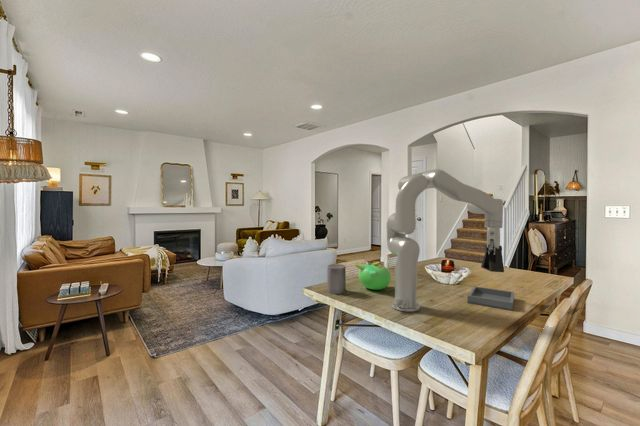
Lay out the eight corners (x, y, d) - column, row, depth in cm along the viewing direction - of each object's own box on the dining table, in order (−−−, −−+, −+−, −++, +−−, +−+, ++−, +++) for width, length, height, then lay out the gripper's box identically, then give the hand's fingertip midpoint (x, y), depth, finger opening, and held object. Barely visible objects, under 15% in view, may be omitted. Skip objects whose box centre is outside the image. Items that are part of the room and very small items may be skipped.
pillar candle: (336, 287, 167) (336, 260, 167) (349, 291, 160) (349, 263, 159) (323, 291, 161) (323, 263, 160) (336, 295, 154) (336, 266, 153)
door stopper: (504, 272, 142) (506, 247, 141) (491, 271, 142) (493, 246, 141) (493, 267, 151) (495, 244, 150) (481, 267, 151) (483, 243, 150)
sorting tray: (512, 310, 133) (512, 303, 133) (467, 302, 144) (467, 295, 143) (514, 299, 150) (514, 292, 150) (473, 292, 160) (474, 286, 160)
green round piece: (396, 290, 164) (397, 263, 163) (375, 296, 153) (376, 267, 153) (371, 283, 178) (371, 258, 177) (350, 287, 167) (351, 261, 167)
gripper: (501, 225, 136) (499, 266, 137) (503, 223, 150) (502, 260, 151) (482, 225, 140) (481, 264, 141) (486, 223, 154) (485, 258, 155)
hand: (492, 261), depth 146 cm, fingers closed on door stopper, 5 cm apart
